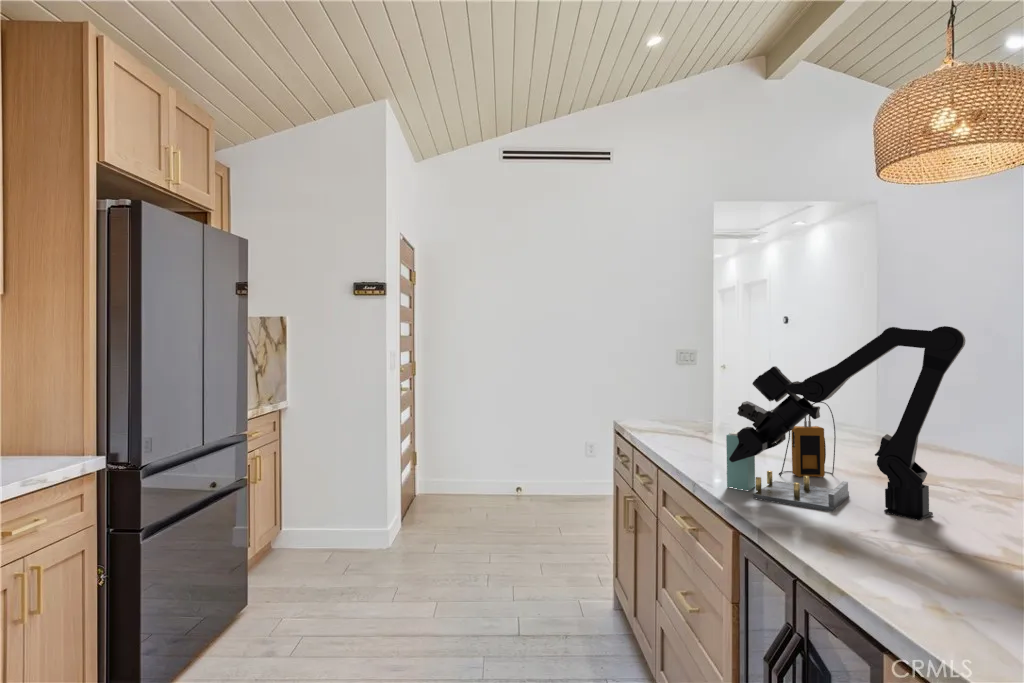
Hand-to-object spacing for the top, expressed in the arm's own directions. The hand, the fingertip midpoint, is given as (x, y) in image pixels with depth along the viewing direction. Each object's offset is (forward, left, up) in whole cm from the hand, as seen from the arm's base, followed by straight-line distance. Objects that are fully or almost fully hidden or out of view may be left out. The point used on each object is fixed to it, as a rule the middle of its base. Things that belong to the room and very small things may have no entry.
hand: (737, 457), depth 136 cm
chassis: (-13, -4, -7) cm, 16 cm away
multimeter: (-1, -27, -7) cm, 28 cm away
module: (-1, 0, -7) cm, 7 cm away
